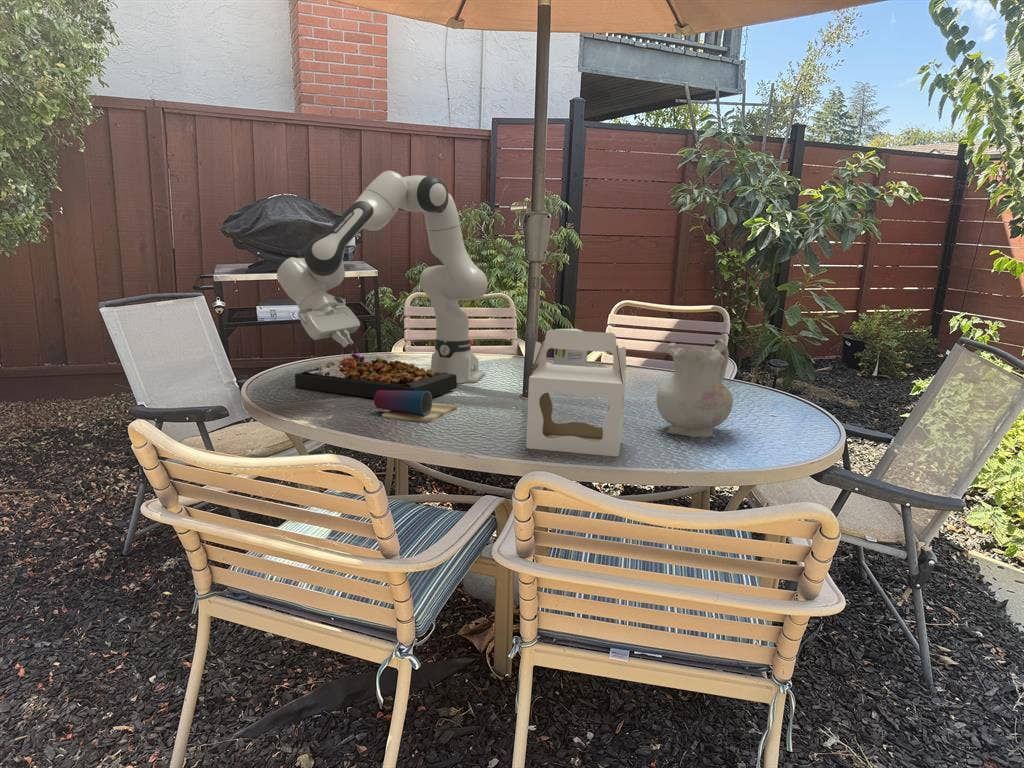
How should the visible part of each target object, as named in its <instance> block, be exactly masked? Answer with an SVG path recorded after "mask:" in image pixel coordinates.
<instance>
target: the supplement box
mask: <svg viewBox="0 0 1024 768" xmlns="http://www.w3.org/2000/svg"><path fill="white" fill-rule="evenodd" d="M554 330H571V331H583V330H582V329H578V328H555V329H554ZM588 352H589V351H584V350H568V349H553V353H554V354H553V364H554V365H569V366H583V367H588V366H587V365H588Z"/></svg>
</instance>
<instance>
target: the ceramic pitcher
mask: <svg viewBox="0 0 1024 768" xmlns="http://www.w3.org/2000/svg"><path fill="white" fill-rule="evenodd" d="M667 346H668V352H669V354H670V356H671V357H672V361H673V364H674V373H673V375H672V376H671V378H669V379H668V380H667V381H665V382H664V383H661V384H660V385H659V386H658V388H657V391H656V407H657V409H658V412H659V413H660V415H661V417H662V419H664V421H666V422H667V423H669V424H670V425H671V426H670V427H669V428H668V429H667V430H666V433H667V434H671V435H679V436H687V437H690V438H691V437H692V438H695V439H696V438H698V439H702V438H713V437H714V431H713V430H712V429H713V428H715V427H718V426H720V425H721V424H723V423H724V422H725V421H726V420H727V419H728V418H729V416H730V414H731V412H732V409H733V404H734V398H733V394H732V392H731V391H730V389H728V388H727V387H726V386H725V385H724V384H723V380H724V378H725V375H726V371H727V367H728V363H729V356H730V352H729V348H728V345H727V344H726V340H725V339H724V338H722V337H719V338H715V339H714V345H713V348H711V349H710V350H702V349H700V348H698V347H694V348H690V349H686V350H685V349H684V348H681V347H678V348H677V344H676V342H670V343H667Z"/></svg>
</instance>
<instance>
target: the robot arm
mask: <svg viewBox="0 0 1024 768" xmlns="http://www.w3.org/2000/svg"><path fill="white" fill-rule="evenodd" d="M398 210H399V211H403V212H405V211H407V212H411V213H422V214H423V216H424V219H425V229H426V233H427V239H428V243H429V250H430V252H431V253H432V255H434V257H436V258H438V260H439V261H440V262H441V263H442V264H443V265H442V264H441V265H433V266H428V267H426V268H424V269H423V270H422V272H421V274H420V277H419V286H420V289H421V290H422V292H423V293H424V294H425V295H426V296H427V297H428V299H429V301H430V303H431V305H432V307H433V310H434V315H435V325H436V326H435V327H436V328H435V329H436V330H435V331H436V333H435V334H436V335H435V336H436V337H435V339H434V350H435V351H434V352H433V353H432V354H431V360H430V370H433V371H434V372H436V373H445V372H446V373H448V374H455V375H456V376H457V384H461V383H463V384H464V383H478V382H479V381H480V380H481V379H482V378H483V377H484V376H485V375H486V372H485V371H480V370H479V368H480V367H479V359H478V358H477V356H476V355H475V354H474V353H473V351H472V348H471V346H472V345H474V340H473V339H472V338H469V327H470V324H469V322H470V320H469V316H468V314H467V313H466V312H465V311H463V310H462V308H461V307H460V305H459V303H458V300H463V301H472V300H477V299H478V300H479V299H481V298H482V297H483V296H484V295H485V294H486V292H487V289H488V278H487V275H486V274H485V272H484V271H482V269H480V268H479V267H478V266H477V265H476V264H475V263H474V262H473V260H472V259H471V257H470V255H469V253H468V251H467V250H466V247H465V243H464V239H463V235H462V234H463V233H462V228H461V221H460V217H459V213H458V209H457V205H456V203H455V200H454V198H453V196H452V195H451V194H450V193H449V191H448V188H447V186H446V184H445V183H444V181H443V180H442V179H440V178H438V177H436V176H432V175H428V176H427V175H421V174H416V175H407V176H406V175H401V174H400V173H398V172H396V171H393V170H385V171H383V172H381V173H380V174H379V175H377V177H375V178H374V179H373V180H372V181H371V183H369V184H368V185H367V187H365V189H364V190H363V191H362V193H361V194H360V196H359V197H357V199H356V200H355V202H354V203H352V205H350V207H349V208H347V209H346V210H345V211H344V213H342V215H341V216H340V217H339V218H338V219H337V220H336V221H335V222H334V223H333V224H332V225H331V227H330V228H329V229H327V231H325V232H323V234H321V235H319V236H316V237H315V238H313V239H312V240H311V241H309V242H308V243H307V244H306V246H305V248H304V252H303V257H292V256H291V257H289V258H286V259H285V260H284V261H283V262H282V263H281V264H280V265H279V267H278V269H277V273H276V278H277V281H278V283H279V284H280V287H281V288H282V289H283V290H284V292H285V293H286V294H287V296H288V297H289V298H290V299H291V300H292V301H294V302H295V303H296V305H297V307H298V309H299V310H298V313H297V317H298V318H299V319H300V323H301V325H302V327H303V328H304V330H305V332H306V333H307V335H308V336H309V337H310V338H311V339H312V340H314V341H318V340H322V339H329V338H332V339H333V340H334V341H336V342H337V343H339V344H340V345H341V346H342V347H343V348H347V347H351V346H352V345H353V344H354V341H353V340H352V339H351V336H350V334H353V333H356V332H357V330H359V328H360V327H361V322H360V320H359V318H358V317H357V316H356V315H355V314H354V312H353V311H352V310H351V308H350V307H348V306H347V305H346V301H345V300H344V299H343V298H342V297H338V296H335V295H332V294H330V293H328V292H329V291H331V290H333V289H335V288H336V287H338V286H340V285H341V284H342V283H343V281H344V279H345V277H346V271H345V265H344V260H343V259H344V252H345V249H346V247H347V246H348V245H349V244H350V243H351V241H353V239H354V238H355V237H356V236H357V235H358V234H359V232H361V230H363V229H365V230H367V231H371V232H372V231H373V232H374V231H380V230H382V229H383V228H384V227H385V226H386V225H387V224H389V222H390V221H391V220H392V218H394V216H395V214H396V213H397V211H398Z"/></svg>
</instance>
